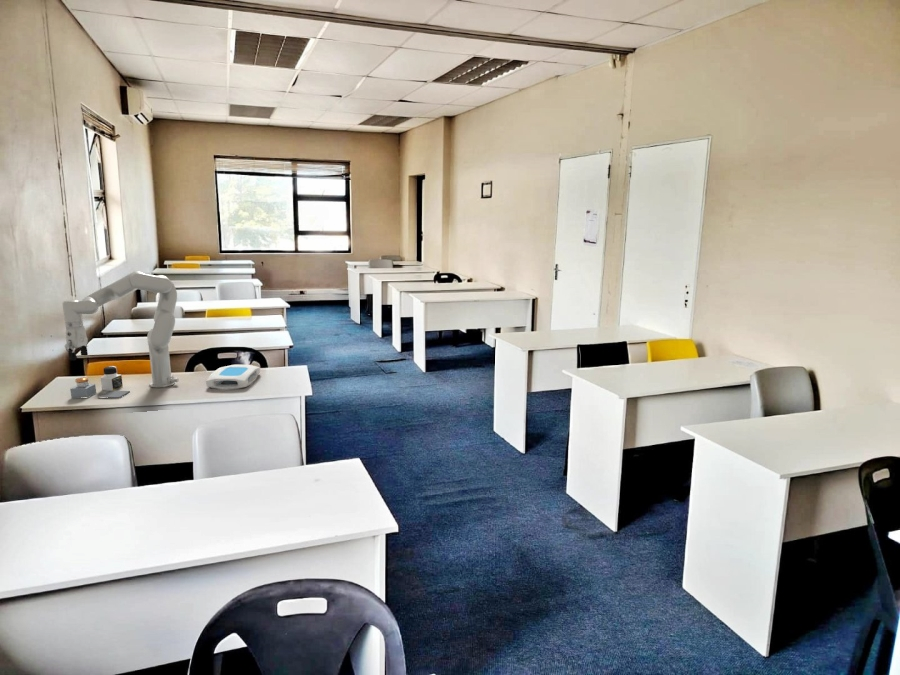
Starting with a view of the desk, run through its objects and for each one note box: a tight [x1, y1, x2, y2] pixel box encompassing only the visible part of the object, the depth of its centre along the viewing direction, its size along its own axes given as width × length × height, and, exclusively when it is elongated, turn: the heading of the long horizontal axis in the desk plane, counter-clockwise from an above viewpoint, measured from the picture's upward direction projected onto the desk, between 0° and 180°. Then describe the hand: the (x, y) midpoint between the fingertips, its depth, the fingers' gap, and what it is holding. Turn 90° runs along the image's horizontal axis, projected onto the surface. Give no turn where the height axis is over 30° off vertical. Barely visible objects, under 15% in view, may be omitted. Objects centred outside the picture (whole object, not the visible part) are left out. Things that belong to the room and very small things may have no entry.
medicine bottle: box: [100, 365, 124, 391], centre depth 315 cm, size 7×7×12 cm
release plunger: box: [75, 377, 89, 388], centre depth 304 cm, size 6×6×7 cm
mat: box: [98, 390, 131, 399], centre depth 306 cm, size 11×10×1 cm
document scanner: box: [205, 364, 261, 390], centre depth 331 cm, size 21×28×6 cm
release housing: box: [69, 383, 97, 399], centre depth 304 cm, size 8×8×5 cm
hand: (78, 357), depth 300 cm, fingers open, 9 cm apart
